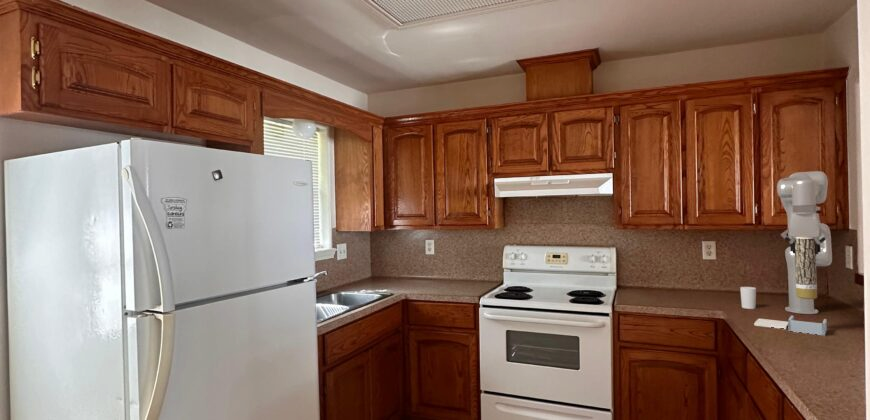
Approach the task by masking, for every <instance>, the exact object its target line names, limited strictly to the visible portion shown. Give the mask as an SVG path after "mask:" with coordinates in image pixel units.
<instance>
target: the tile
mask: <svg viewBox="0 0 870 420" xmlns="http://www.w3.org/2000/svg"><path fill="white" fill-rule="evenodd" d="M753 325H754V326H757V327H764V328H771V327H774V328H773V329H780V328H784V329H783V330H787V329H788V327H787V326H788V321H786V320H785V321H784V320H775V319H765V318H758V319H756V321H755V322H754V323H753Z"/></svg>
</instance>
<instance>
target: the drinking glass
mask: <svg viewBox="0 0 870 420" xmlns="http://www.w3.org/2000/svg"><path fill="white" fill-rule="evenodd" d="M739 288H740V289H739V291H740V300H741V301H740V302H741V308H742V309H747V310H755V309H756V305H757V304H756V303H757V301H756V300H757V288H756V287H754V286H753V287H752V286H740V287H739Z"/></svg>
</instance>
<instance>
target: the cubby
mask: <svg viewBox="0 0 870 420" xmlns="http://www.w3.org/2000/svg"><path fill="white" fill-rule="evenodd" d="M787 322H788V327H787V329H788V332H790V331H793V332H792V333H799V332H802V334H807V333H809V335H815V334H817V335H816V336H826V335H827V334H826V333H827V331H828V322H827V318H824V319H823V321H822V323H820V322H813V321H803V320H802V321H801V320H796V319H795V318H794V315H790V316H789V318H788V320H787ZM825 334H826V335H825Z"/></svg>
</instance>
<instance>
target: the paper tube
mask: <svg viewBox="0 0 870 420" xmlns="http://www.w3.org/2000/svg"><path fill="white" fill-rule="evenodd" d="M794 243H795V273H796V296H797V297H798V298H802V299H814V300H815V299H817V298H818V279H817V277H818V276H817V266H816V254H815V245H816V241H815V240H814V238H813V237H796V238H795V242H794Z"/></svg>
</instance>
